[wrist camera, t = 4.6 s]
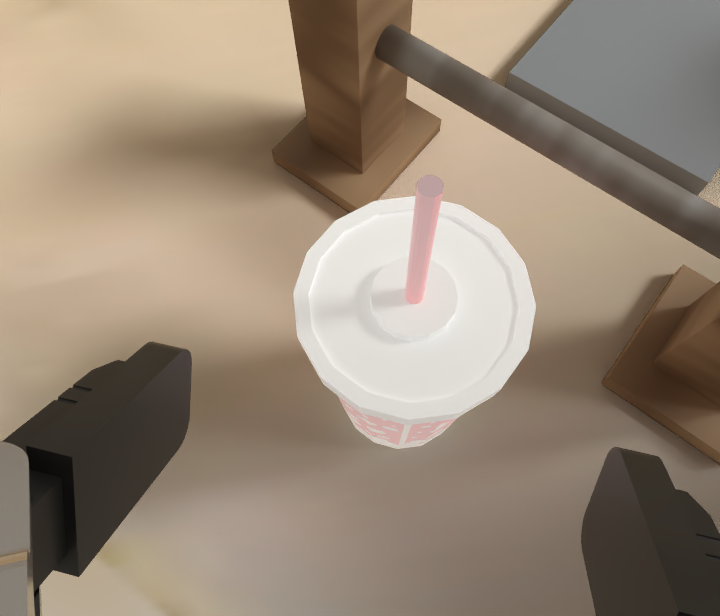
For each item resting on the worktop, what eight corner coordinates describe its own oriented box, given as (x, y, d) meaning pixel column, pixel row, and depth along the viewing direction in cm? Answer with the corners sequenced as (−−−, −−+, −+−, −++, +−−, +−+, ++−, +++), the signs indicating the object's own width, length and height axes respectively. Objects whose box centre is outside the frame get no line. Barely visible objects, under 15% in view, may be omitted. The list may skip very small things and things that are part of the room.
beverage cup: (478, 320, 24) (594, 57, 12) (479, 475, 22) (625, 364, 9) (329, 312, 25) (278, 47, 12) (314, 464, 22) (231, 341, 10)
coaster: (792, 56, 29) (805, 40, 28) (697, 195, 26) (708, 182, 26) (609, -31, 32) (616, -49, 31) (504, 87, 29) (509, 72, 28)
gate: (790, 343, 24) (1101, 185, 14) (721, 465, 22) (1018, 388, 12) (355, 80, 29) (345, -172, 19) (274, 161, 28) (215, -68, 17)
